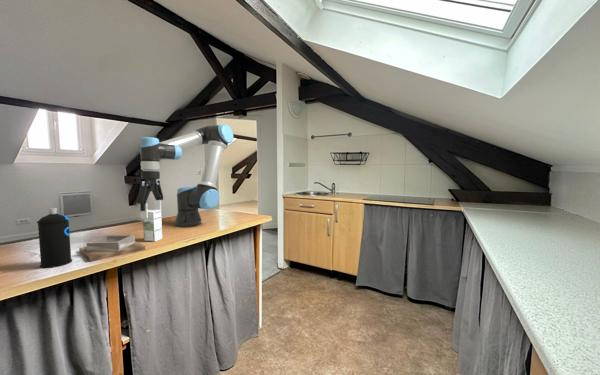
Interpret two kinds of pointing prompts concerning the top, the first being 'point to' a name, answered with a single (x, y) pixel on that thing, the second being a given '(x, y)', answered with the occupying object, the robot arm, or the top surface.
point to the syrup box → (152, 226)
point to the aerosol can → (54, 240)
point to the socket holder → (110, 247)
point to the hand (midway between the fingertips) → (151, 215)
